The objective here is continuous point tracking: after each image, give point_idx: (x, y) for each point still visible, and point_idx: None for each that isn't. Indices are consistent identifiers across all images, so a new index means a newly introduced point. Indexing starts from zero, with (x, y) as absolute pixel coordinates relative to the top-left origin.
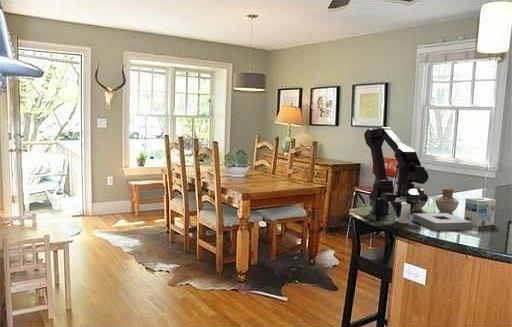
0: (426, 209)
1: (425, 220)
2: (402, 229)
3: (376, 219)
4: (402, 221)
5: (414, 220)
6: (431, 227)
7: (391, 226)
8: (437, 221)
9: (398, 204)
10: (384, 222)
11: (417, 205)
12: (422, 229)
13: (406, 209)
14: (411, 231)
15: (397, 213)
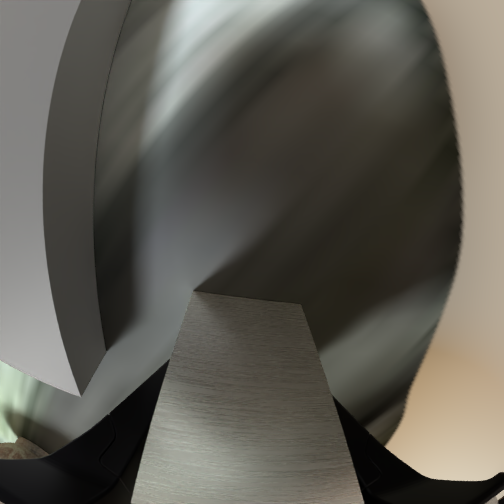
0: (3, 429)
1: (59, 142)
2: (444, 101)
3: (376, 416)
4: (280, 314)
5: (98, 335)
6: (114, 27)
7: (458, 224)
8: (35, 6)
9: (433, 493)
10: (404, 351)
11: (24, 457)
12: (239, 20)
13: (237, 436)
14: (406, 20)
15: (340, 406)
